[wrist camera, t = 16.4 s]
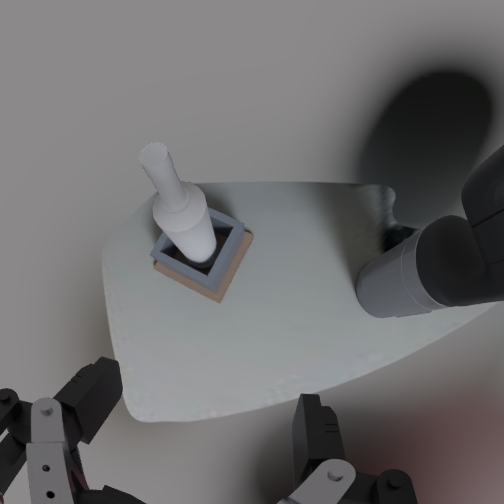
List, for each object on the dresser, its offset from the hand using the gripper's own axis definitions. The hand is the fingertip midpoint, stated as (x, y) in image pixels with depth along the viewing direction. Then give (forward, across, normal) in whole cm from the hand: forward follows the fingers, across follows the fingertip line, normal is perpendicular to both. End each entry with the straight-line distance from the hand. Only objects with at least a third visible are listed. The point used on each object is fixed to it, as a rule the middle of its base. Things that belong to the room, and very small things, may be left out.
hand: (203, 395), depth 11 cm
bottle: (+31, +7, +2) cm, 32 cm away
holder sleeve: (+32, +7, +2) cm, 33 cm away
